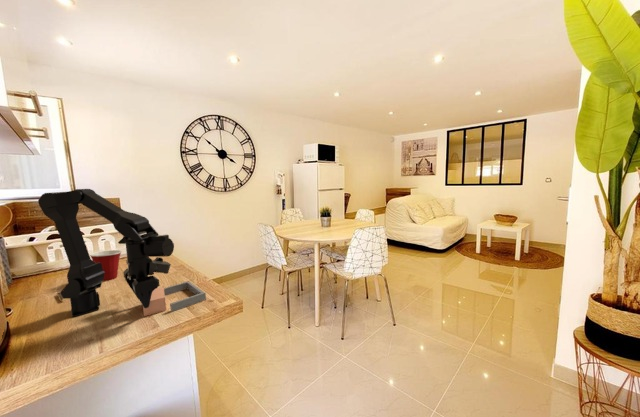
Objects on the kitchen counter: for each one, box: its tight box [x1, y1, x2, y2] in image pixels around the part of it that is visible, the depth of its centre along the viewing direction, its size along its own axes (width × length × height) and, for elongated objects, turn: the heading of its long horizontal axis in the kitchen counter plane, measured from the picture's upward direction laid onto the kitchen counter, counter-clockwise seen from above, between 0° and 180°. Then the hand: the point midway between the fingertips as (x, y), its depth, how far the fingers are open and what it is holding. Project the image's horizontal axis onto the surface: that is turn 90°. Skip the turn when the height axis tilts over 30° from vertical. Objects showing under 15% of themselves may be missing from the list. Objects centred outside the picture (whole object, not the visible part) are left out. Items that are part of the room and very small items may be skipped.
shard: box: [56, 291, 70, 303], centre depth 95 cm, size 11×8×2 cm
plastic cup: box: [89, 249, 123, 282], centre depth 111 cm, size 11×11×12 cm
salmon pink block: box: [142, 286, 167, 317], centre depth 86 cm, size 6×10×4 cm, turn 33°
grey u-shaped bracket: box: [164, 280, 207, 313], centre depth 92 cm, size 11×16×2 cm
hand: (143, 302), depth 83 cm, fingers open, 9 cm apart
